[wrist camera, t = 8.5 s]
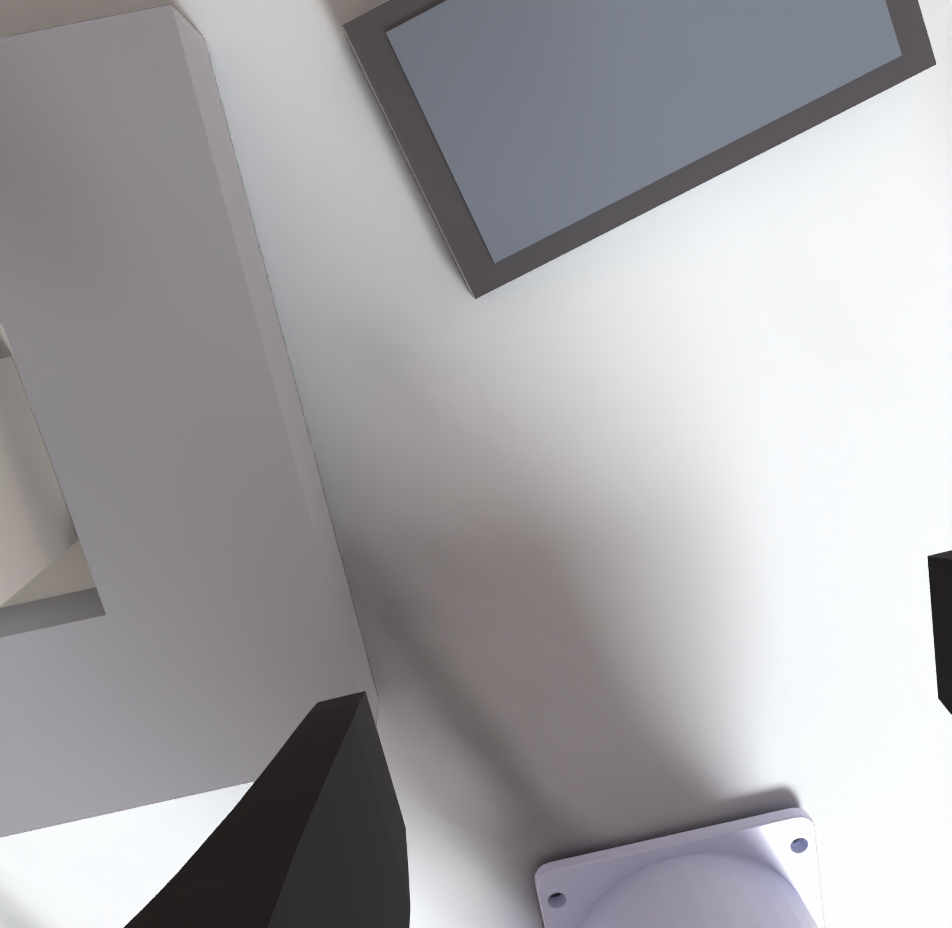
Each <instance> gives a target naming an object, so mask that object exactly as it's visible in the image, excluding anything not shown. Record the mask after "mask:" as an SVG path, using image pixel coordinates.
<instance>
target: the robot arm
mask: <svg viewBox="0 0 952 928" xmlns="http://www.w3.org/2000/svg"><path fill="white" fill-rule="evenodd" d="M928 568H929V582H930V595H931V608H932V621H933V635H934V648H935V661H936V674H937V688H938V699H939V700H940V701H941V702H942V703H943V705H944V706H945V707H946V708H947V710H948V711H949V712H950V713H951V714H952V550H951V551H947V552H943V553H939V554H934V555H930V556H928ZM797 838H801V839H800V840H799V841H798V842H796V843H792V842H793V841H794V840H795V839H797ZM535 885H536V890H537V894H538V899H539V903H540V908H541V913H542V917H543V922H544V926H545V928H824V918H823V909H822V899H821V889H820V879H819V869H818V859H817V849H816V839H815V829H814V824H813V821H812V819H811V818H810V817H809V815H808V814H807V813H806V812H805V811H804V810H803V809H800V808H788V809H783V810H779V811H775V812H770V813H766V814H761V815H757V816H752V817H748V818H744V819H739V820H735V821H730V822H726V823H721V824H717V825H712V826H708V827H704V828H699V829H695V830H690V831H686V832H681V833H677V834H673V835H668V836H664V837H659V838H655V839H650V840H646V841H641V842H637V843H633V844H628V845H624V846H619V847H615V848H610V849H606V850H602V851H597V852H593V853H588V854H584V855H579V856H575V857H570V858H566V859H562V860H557V861H553V862H549V863H546V864H544V865H542V866H541V867H540V868H539V869H537V871H536V873H535ZM554 893H562V894H561V895H560V896H558V897H550V896H551V895H552V894H554ZM409 923H410V892H409V873H408V857H407V843H406V828H405V824H404V821H403V817H402V814H401V811H400V807H399V804H398V800H397V797H396V793H395V790H394V787H393V783H392V780H391V776H390V773H389V770H388V766H387V763H386V759H385V756H384V752H383V749H382V746H381V742H380V739H379V735H378V732H377V729H376V725H375V722H374V718H373V715H372V711H371V708H370V705H369V701H368V698H367V694H366V691H363V692H358V693H354V694H350V695H346V696H342V697H337V698H333V699H329V700H325V701H321V702H317V704H316V705H315V706H314V707H313V708H312V709H311V710H310V712H309V713H308V714H307V715H306V716H305V718H304V719H303V720H302V722H301V723H300V724H299V725H298V727H297V728H296V729H295V731H294V732H293V733H292V735H291V736H290V737H289V739H288V740H287V741H286V742H285V744H284V745H283V746H282V748H281V749H280V750H279V752H278V753H277V754H276V756H275V757H274V758H273V759H272V761H271V762H270V763H269V765H268V766H267V767H266V768H265V770H264V771H263V772H262V773H261V775H260V776H259V777H258V778H257V780H256V781H255V782H254V784H253V785H252V786H251V787H250V789H249V790H248V791H247V792H246V794H245V795H244V796H243V798H242V799H241V800H240V801H239V803H238V804H237V805H236V806H235V807H234V809H233V810H232V811H231V812H230V813H229V814H228V816H227V817H226V818H225V819H224V820H223V821H222V822H221V824H220V825H219V826H218V827H217V828H216V829H215V830H214V832H213V833H212V834H211V835H210V836H209V837H208V838H207V840H206V841H205V842H204V843H203V844H202V845H201V847H200V848H199V849H198V850H197V851H196V852H195V853H194V855H193V856H192V857H191V858H190V859H189V860H188V861H187V863H186V864H185V865H184V866H183V867H182V868H181V870H180V871H179V872H178V873H177V874H176V875H175V876H174V877H173V878H172V879H171V880H170V881H169V882H168V883H167V885H166V886H165V887H164V888H163V889H162V890H161V891H160V892H159V893H158V894H157V895H156V896H155V897H154V898H153V899H152V900H151V901H150V902H149V903H148V904H147V905H146V906H145V907H144V908H143V909H142V910H141V911H140V912H139V913H138V914H137V915H136V916H135V917H134V918H133V919H132V920H131V921H130V922H129V923H128V924H127V925H126V926H125V927H124V928H409Z"/></svg>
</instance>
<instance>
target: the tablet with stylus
mask: <svg viewBox="0 0 952 928" xmlns="http://www.w3.org/2000/svg"><path fill="white" fill-rule="evenodd" d="M343 27H344V30H345V34H346V37H347V40H348V42H349V44H350V46H351V48H352V50H353V52H354V54H355V56H356V58H357V60H358V62H359V64H360V66H361V68H362V70H363V72H364V75H365V77H366V79H367V81H368V83H369V85H370V87H371V89H372V91H373V93H374V95H375V97H376V99H377V101H378V103H379V105H380V108H381V110H382V112H383V114H384V116H385V118H386V120H387V122H388V124H389V126H390V128H391V130H392V132H393V134H394V136H395V138H396V141H397V143H398V145H399V147H400V149H401V151H402V153H403V155H404V157H405V159H406V161H407V163H408V165H409V167H410V169H411V171H412V174H413V176H414V178H415V180H416V182H417V184H418V186H419V188H420V190H421V192H422V194H423V196H424V198H425V200H426V202H427V204H428V207H429V209H430V211H431V213H432V215H433V217H434V219H435V221H436V223H437V225H438V227H439V229H440V231H441V233H442V235H443V237H444V239H445V242H446V244H447V246H448V248H449V250H450V252H451V254H452V256H453V258H454V260H455V262H456V264H457V266H458V268H459V270H460V272H461V275H462V277H463V279H464V281H465V283H466V285H467V287H468V289H469V291H470V293H471V295H472V297H473V298H475V299H477V298H479V297H480V296H482V295H484V294H486V293H488V292H490V291H492V290H494V289H496V288H498V287H500V286H502V285H504V284H506V283H508V282H510V281H512V280H514V279H516V278H518V277H520V276H522V275H524V274H526V273H528V272H530V271H532V270H533V269H535V268H537V267H539V266H541V265H543V264H545V263H547V262H549V261H551V260H553V259H555V258H557V257H559V256H561V255H563V254H565V253H567V252H569V251H571V250H573V249H575V248H577V247H579V246H581V245H583V244H584V243H586V242H588V241H590V240H592V239H594V238H596V237H598V236H600V235H602V234H604V233H606V232H608V231H610V230H612V229H614V228H616V227H618V226H620V225H622V224H624V223H626V222H628V221H630V220H632V219H634V218H636V217H637V216H639V215H641V214H643V213H645V212H647V211H649V210H651V209H653V208H655V207H657V206H659V205H661V204H663V203H665V202H667V201H669V200H671V199H673V198H675V197H677V196H679V195H681V194H683V193H685V192H687V191H689V190H690V189H692V188H694V187H696V186H698V185H700V184H702V183H704V182H706V181H708V180H710V179H712V178H714V177H716V176H718V175H720V174H722V173H724V172H726V171H728V170H730V169H732V168H734V167H736V166H738V165H740V164H742V163H743V162H745V161H747V160H749V159H751V158H753V157H755V156H757V155H759V154H761V153H763V152H765V151H767V150H769V149H771V148H773V147H775V146H777V145H779V144H781V143H783V142H785V141H787V140H789V139H791V138H793V137H795V136H796V135H798V134H800V133H802V132H804V131H806V130H808V129H810V128H812V127H814V126H816V125H818V124H820V123H822V122H824V121H826V120H828V119H830V118H832V117H834V116H836V115H838V114H840V113H842V112H844V111H846V110H848V109H849V108H851V107H853V106H855V105H857V104H859V103H861V102H863V101H865V100H867V99H869V98H871V97H873V96H875V95H877V94H879V93H881V92H883V91H885V90H887V89H889V88H891V87H893V86H895V85H897V84H899V83H900V82H902V81H904V80H906V79H908V78H910V77H912V76H914V75H916V74H918V73H920V72H922V71H924V70H926V69H928V68H930V67H932V66H934V65H936V61H935V58H934V54H933V51H932V47H931V44H930V40H929V37H928V34H927V30H926V27H925V23H924V20H923V17H922V13H921V10H920V6H919V3H918V0H390V1H388V2H386V3H384V4H382V5H381V6H379V7H377V8H375V9H373V10H371V11H369V12H367V13H365V14H364V15H362V16H360V17H358V18H356V19H354V20H352V21H350V22H349V23H347V24H345V25H343Z"/></svg>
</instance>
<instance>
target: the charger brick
mask: <svg viewBox="0 0 952 928" xmlns="http://www.w3.org/2000/svg"><path fill="white" fill-rule="evenodd" d="M77 540H78V536H77V534H76V531H75V528H74V525H73V523H72V520H71V517H70V514H69V512H68V509H67V506H66V504H65V501H64V498H63V495H62V493H61V490H60V487H59V484H58V482H57V479H56V476H55V473H54V471H53V468H52V465H51V462H50V460H49V457H48V454H47V451H46V449H45V446H44V443H43V440H42V438H41V435H40V432H39V429H38V427H37V424H36V421H35V418H34V416H33V413H32V410H31V407H30V405H29V402H28V399H27V397H26V394H25V391H24V388H23V386H22V383H21V380H20V377H19V375H18V372H17V369H16V366H15V364H14V361H13V358H12V356H10V357H5V358H1V359H0V606H2V605H3V604H4V603H5V602H6V601H7V600H9V599H10V598H11V597H12V596H13V595H14V594H16V593H17V592H18V591H19V590H20V589H21V588H23V587H24V586H25V585H26V584H27V583H28V582H30V581H31V580H32V579H33V578H34V577H35V576H37V575H38V574H39V573H40V572H41V571H42V570H44V569H45V568H46V567H47V566H48V565H49V564H50V563H52V562H53V561H54V560H55V559H56V558H57V557H59V556H60V555H61V554H62V553H63V552H64V551H66V550H67V549H68V548H69V547H70V546H71V545H73V544H74V543H75V542H76V541H77Z"/></svg>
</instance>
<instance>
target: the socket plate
mask: <svg viewBox="0 0 952 928" xmlns="http://www.w3.org/2000/svg"><path fill="white" fill-rule="evenodd" d="M10 356H12V358H13V361H14V364H15V366H16V369H17V372H18V375H19V377H20V380H21V383H22V386H23V388H24V391H25V394H26V397H27V399H28V402H29V405H30V407H31V410H32V413H33V416H34V418H35V421H36V424H37V427H38V429H39V432H40V435H41V438H42V440H43V443H44V446H45V449H46V451H47V454H48V457H49V460H50V462H51V465H52V468H53V471H54V473H55V476H56V479H57V482H58V484H59V487H60V490H61V493H62V495H63V498H64V501H65V504H66V506H67V509H68V512H69V514H70V517H71V520H72V523H73V525H74V528H75V531H76V534H77V536H78V540H77V541H76V542H75V543H74V544H73V545H71V546H70V547H69V548H68V549H67V550H66V551H64V552H63V553H62V554H61V555H60V556H59V557H57V558H56V559H55V560H54V561H53V562H52V563H50V564H49V565H48V566H47V567H46V568H45V569H44V570H42V571H41V572H40V573H39V574H38V575H37V576H35V577H34V578H33V579H32V580H31V581H30V582H28V583H27V584H26V585H25V586H24V587H23V588H21V589H20V590H19V591H18V592H17V593H16V594H14V595H13V596H12V597H11V598H10V599H9V600H7V601H6V602H5V603H4V604H3V605H2V606H0V837H5V836H9V835H14V834H18V833H23V832H27V831H32V830H36V829H41V828H45V827H50V826H54V825H59V824H63V823H68V822H72V821H77V820H81V819H86V818H90V817H95V816H100V815H104V814H109V813H113V812H118V811H122V810H127V809H131V808H136V807H140V806H145V805H149V804H154V803H158V802H163V801H167V800H172V799H176V798H181V797H185V796H190V795H195V794H199V793H204V792H208V791H213V790H217V789H222V788H226V787H231V786H235V785H240V784H244V783H249V782H253V781H256V780H257V778H258V777H259V776H260V775H261V773H262V772H263V771H264V770H265V768H266V767H267V766H268V765H269V763H270V762H271V761H272V759H273V758H274V757H275V756H276V754H277V753H278V752H279V750H280V749H281V748H282V746H283V745H284V744H285V742H286V741H287V740H288V739H289V737H290V736H291V735H292V733H293V732H294V731H295V729H296V728H297V727H298V725H299V724H300V723H301V722H302V720H303V719H304V718H305V716H306V715H307V714H308V713H309V712H310V710H311V709H312V708H313V707H314V706H315V705H316V704H317V702H321V701H325V700H329V699H333V698H337V697H342V696H346V695H350V694H354V693H358V692H363V691H366V694H367V698H368V701H369V705H370V708H371V711H372V715H373V718H374V722H375V725H377V712H378V696H377V692H376V688H375V684H374V681H373V677H372V673H371V669H370V665H369V662H368V658H367V654H366V650H365V646H364V643H363V639H362V635H361V631H360V627H359V624H358V620H357V616H356V612H355V608H354V605H353V601H352V597H351V593H350V589H349V586H348V582H347V578H346V574H345V570H344V567H343V563H342V559H341V555H340V551H339V548H338V544H337V540H336V536H335V532H334V529H333V525H332V521H331V517H330V513H329V510H328V506H327V502H326V498H325V494H324V491H323V487H322V483H321V479H320V475H319V471H318V468H317V464H316V460H315V456H314V452H313V449H312V445H311V441H310V437H309V433H308V430H307V426H306V422H305V418H304V414H303V411H302V407H301V403H300V399H299V395H298V392H297V388H296V384H295V380H294V376H293V373H292V369H291V365H290V361H289V357H288V354H287V350H286V346H285V342H284V338H283V335H282V331H281V327H280V323H279V319H278V316H277V312H276V308H275V304H274V300H273V297H272V293H271V289H270V285H269V281H268V278H267V274H266V270H265V266H264V262H263V259H262V255H261V251H260V247H259V243H258V240H257V236H256V232H255V228H254V224H253V221H252V217H251V213H250V209H249V205H248V202H247V198H246V194H245V190H244V186H243V183H242V179H241V175H240V171H239V167H238V163H237V160H236V156H235V152H234V148H233V144H232V141H231V137H230V133H229V129H228V125H227V122H226V118H225V114H224V110H223V106H222V103H221V99H220V95H219V91H218V87H217V84H216V80H215V76H214V72H213V68H212V65H211V61H210V57H209V53H208V49H207V46H206V42H205V38H204V37H203V36H202V35H201V34H200V33H199V32H198V31H197V30H196V29H195V28H194V27H193V26H192V25H191V24H190V23H189V22H188V21H187V20H186V19H185V18H184V17H183V16H182V15H181V14H180V13H179V12H178V11H177V9H176V8H175V7H174V6H173V5H172V4H170V5H165V6H160V7H155V8H150V9H144V10H139V11H134V12H129V13H124V14H119V15H114V16H109V17H104V18H99V19H94V20H89V21H84V22H79V23H74V24H69V25H64V26H59V27H54V28H49V29H44V30H39V31H33V32H28V33H23V34H18V35H13V36H8V37H3V38H0V359H1V358H5V357H10Z"/></svg>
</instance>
